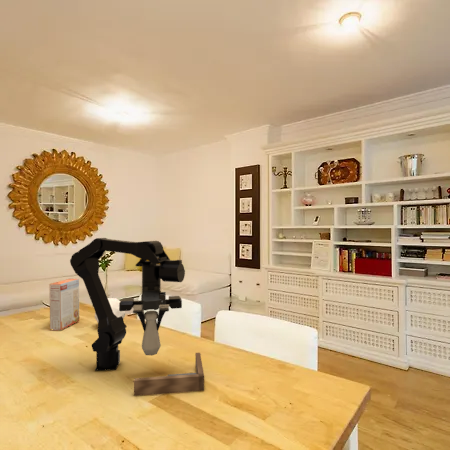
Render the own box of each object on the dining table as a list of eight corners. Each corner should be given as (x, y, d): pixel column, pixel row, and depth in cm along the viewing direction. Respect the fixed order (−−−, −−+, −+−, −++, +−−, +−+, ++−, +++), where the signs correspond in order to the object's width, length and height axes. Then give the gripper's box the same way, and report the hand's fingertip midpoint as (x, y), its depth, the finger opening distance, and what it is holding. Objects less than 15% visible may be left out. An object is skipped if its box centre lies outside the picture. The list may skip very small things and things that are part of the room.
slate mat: (166, 390, 89) (166, 388, 89) (167, 375, 98) (167, 374, 98) (198, 388, 90) (198, 386, 90) (196, 374, 99) (196, 372, 99)
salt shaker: (156, 357, 97) (156, 314, 97) (138, 356, 98) (138, 313, 98) (163, 350, 103) (163, 309, 103) (146, 349, 103) (146, 308, 104)
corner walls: (133, 395, 86) (133, 380, 86) (141, 368, 103) (141, 355, 103) (204, 390, 89) (204, 376, 89) (200, 364, 106) (200, 352, 106)
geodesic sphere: (83, 313, 147) (94, 292, 142) (109, 307, 158) (120, 287, 154) (98, 337, 140) (110, 315, 136) (124, 329, 152) (135, 309, 147)
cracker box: (68, 321, 155) (68, 278, 155) (79, 321, 154) (80, 278, 154) (48, 330, 141) (48, 283, 141) (61, 331, 140) (61, 283, 140)
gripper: (116, 286, 91) (116, 341, 90) (183, 284, 94) (183, 337, 94) (121, 280, 101) (121, 329, 101) (180, 278, 105) (180, 325, 105)
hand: (151, 330), depth 100 cm, fingers closed on salt shaker, 3 cm apart
